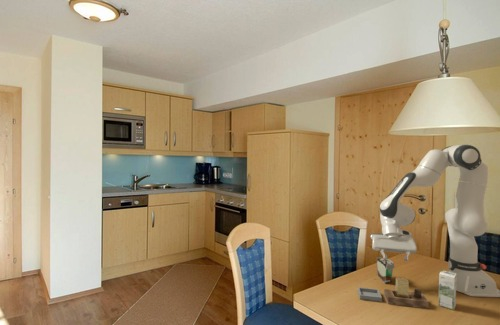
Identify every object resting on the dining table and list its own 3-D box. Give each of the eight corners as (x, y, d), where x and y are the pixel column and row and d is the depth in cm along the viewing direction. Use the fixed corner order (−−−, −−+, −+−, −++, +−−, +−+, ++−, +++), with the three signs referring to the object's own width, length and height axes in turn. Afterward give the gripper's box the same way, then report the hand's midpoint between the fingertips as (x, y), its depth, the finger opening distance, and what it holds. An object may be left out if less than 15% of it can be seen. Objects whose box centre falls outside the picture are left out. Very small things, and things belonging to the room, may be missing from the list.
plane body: (422, 299, 132) (422, 286, 132) (428, 308, 125) (428, 295, 124) (384, 295, 136) (384, 282, 136) (388, 303, 128) (388, 290, 128)
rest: (378, 293, 138) (378, 289, 138) (381, 302, 130) (381, 297, 130) (357, 291, 140) (357, 287, 140) (360, 299, 132) (360, 295, 132)
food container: (398, 285, 147) (398, 265, 147) (386, 284, 147) (386, 265, 147) (387, 275, 159) (387, 257, 159) (376, 274, 160) (376, 256, 159)
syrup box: (456, 305, 127) (457, 273, 127) (453, 310, 123) (454, 277, 123) (440, 301, 131) (441, 269, 131) (438, 305, 127) (438, 273, 127)
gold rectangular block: (406, 300, 132) (406, 278, 132) (408, 303, 128) (408, 281, 128) (395, 298, 133) (395, 277, 133) (397, 302, 130) (397, 280, 129)
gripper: (371, 229, 151) (374, 254, 142) (414, 232, 146) (420, 258, 137) (369, 235, 155) (372, 260, 146) (411, 239, 150) (417, 264, 141)
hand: (395, 259), depth 141 cm, fingers open, 8 cm apart
